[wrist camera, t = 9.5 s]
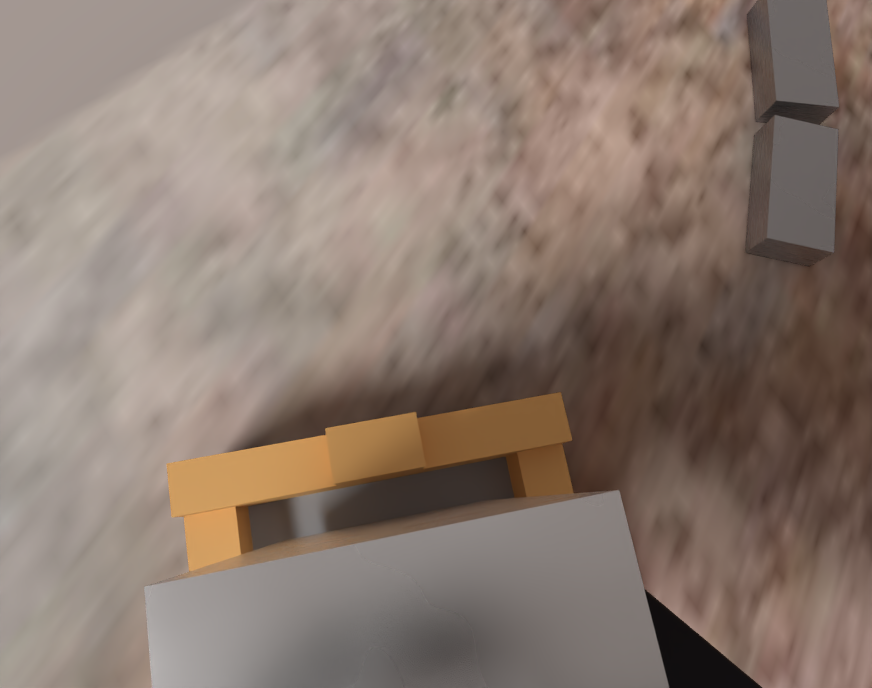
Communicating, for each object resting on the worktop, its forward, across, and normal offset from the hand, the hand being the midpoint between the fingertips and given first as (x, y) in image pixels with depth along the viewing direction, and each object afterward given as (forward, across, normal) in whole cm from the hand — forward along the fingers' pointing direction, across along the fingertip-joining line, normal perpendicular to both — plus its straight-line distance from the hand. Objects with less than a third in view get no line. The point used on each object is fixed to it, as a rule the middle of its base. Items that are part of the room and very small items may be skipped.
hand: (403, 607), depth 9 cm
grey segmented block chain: (+16, -17, -4) cm, 23 cm away
